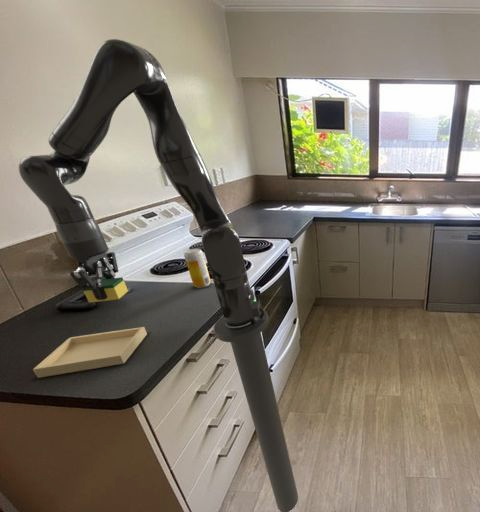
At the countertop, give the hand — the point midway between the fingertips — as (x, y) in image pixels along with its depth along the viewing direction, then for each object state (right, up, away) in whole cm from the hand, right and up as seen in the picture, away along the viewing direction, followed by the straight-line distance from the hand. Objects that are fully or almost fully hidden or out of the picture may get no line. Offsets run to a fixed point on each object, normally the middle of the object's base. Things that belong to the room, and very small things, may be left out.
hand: (108, 294), depth 80 cm
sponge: (0, -1, 0) cm, 1 cm away
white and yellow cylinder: (+4, -1, +36) cm, 36 cm away
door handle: (-30, -5, +28) cm, 42 cm away
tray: (-3, -17, 0) cm, 17 cm away
